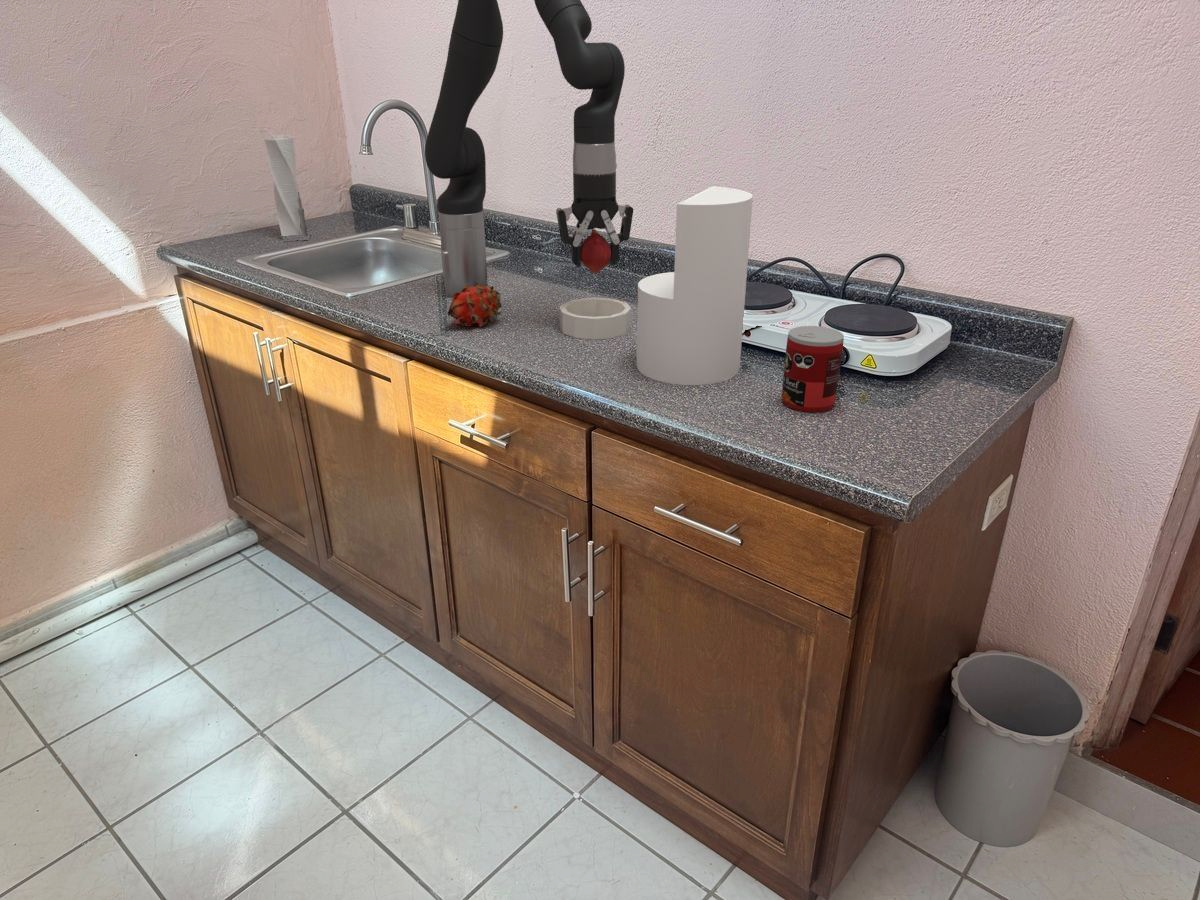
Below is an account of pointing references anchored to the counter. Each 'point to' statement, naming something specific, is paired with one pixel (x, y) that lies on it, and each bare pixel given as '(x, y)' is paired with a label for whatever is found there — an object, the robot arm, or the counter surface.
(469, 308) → the dragon fruit
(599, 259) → the onion
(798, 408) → the canned food
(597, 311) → the ramekin
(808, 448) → the counter surface
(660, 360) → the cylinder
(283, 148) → the skyscraper
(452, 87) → the robot arm
